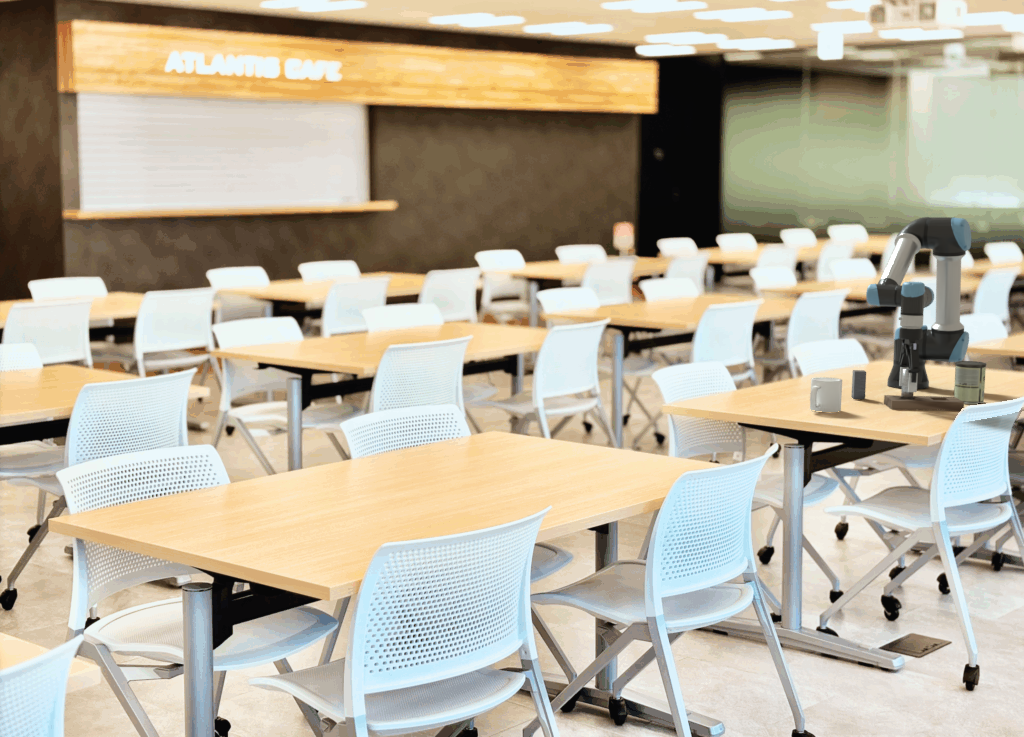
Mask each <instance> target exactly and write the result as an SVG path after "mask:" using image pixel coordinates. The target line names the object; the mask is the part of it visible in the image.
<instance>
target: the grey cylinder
mask: <svg viewBox="0 0 1024 737" xmlns="http://www.w3.org/2000/svg"><path fill="white" fill-rule="evenodd" d="M909 370H910V369H903V374H902V388H901V395H900V396H901V399H908V400H913V396H914V393H915V392H908V384H909V373H908V371H909Z"/></svg>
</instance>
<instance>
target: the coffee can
mask: <svg viewBox="0 0 1024 737" xmlns="http://www.w3.org/2000/svg"><path fill="white" fill-rule="evenodd" d="M954 363H955V371H954V386H953V387H954V390H953V391H954V392H953V397H956V398H958V399H959V400H961V401H963V402H964V405H979V404H978V403H983V404H984V403H985V402H984V401H985V389H986V388H985V386H986V371H987V370H986V368H987V363H986V362H982V361H976V360H970V361H969V360H962V361H958V362H954Z"/></svg>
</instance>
